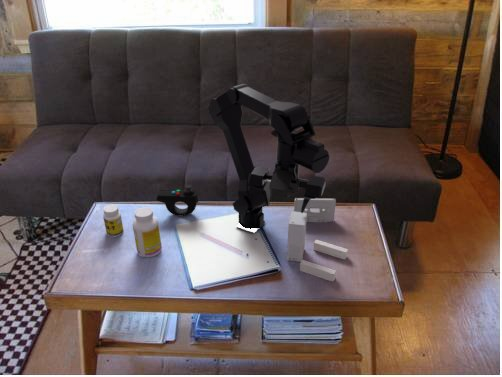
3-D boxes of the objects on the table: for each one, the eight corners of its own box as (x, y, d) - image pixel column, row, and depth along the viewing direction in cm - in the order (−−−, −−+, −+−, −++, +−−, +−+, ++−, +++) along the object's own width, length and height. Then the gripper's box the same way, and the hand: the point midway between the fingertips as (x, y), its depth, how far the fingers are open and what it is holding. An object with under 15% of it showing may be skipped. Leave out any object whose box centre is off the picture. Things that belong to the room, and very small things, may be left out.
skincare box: (302, 262, 123) (305, 225, 116) (286, 260, 123) (288, 224, 117) (304, 248, 128) (307, 212, 121) (289, 246, 128) (291, 210, 122)
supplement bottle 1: (103, 235, 133) (98, 210, 129) (113, 225, 137) (108, 202, 132) (117, 238, 132) (112, 214, 127) (127, 229, 135) (122, 205, 131)
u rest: (299, 270, 120) (300, 263, 119) (315, 246, 128) (316, 239, 127) (333, 281, 116) (334, 274, 115) (347, 256, 125) (348, 249, 123)
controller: (198, 218, 140) (196, 190, 135) (157, 218, 140) (154, 190, 135) (200, 210, 144) (198, 182, 138) (160, 210, 144) (156, 182, 138)
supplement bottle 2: (166, 246, 128) (161, 208, 122) (152, 261, 123) (146, 221, 117) (146, 240, 131) (140, 202, 124) (132, 254, 126) (125, 215, 119)
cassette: (333, 219, 139) (335, 197, 135) (334, 222, 138) (336, 201, 134) (293, 218, 140) (294, 197, 136) (293, 222, 138) (294, 200, 134)
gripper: (240, 165, 109) (240, 219, 117) (319, 179, 104) (313, 234, 112) (255, 144, 118) (254, 196, 126) (328, 156, 113) (322, 209, 121)
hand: (285, 208), depth 121 cm, fingers open, 9 cm apart
